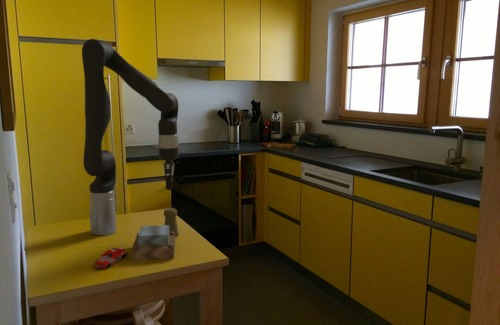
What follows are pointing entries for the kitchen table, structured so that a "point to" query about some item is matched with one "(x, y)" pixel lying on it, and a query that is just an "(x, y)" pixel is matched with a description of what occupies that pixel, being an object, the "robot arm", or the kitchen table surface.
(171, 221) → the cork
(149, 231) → the knobbed square tray
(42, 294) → the kitchen table surface
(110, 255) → the race car
